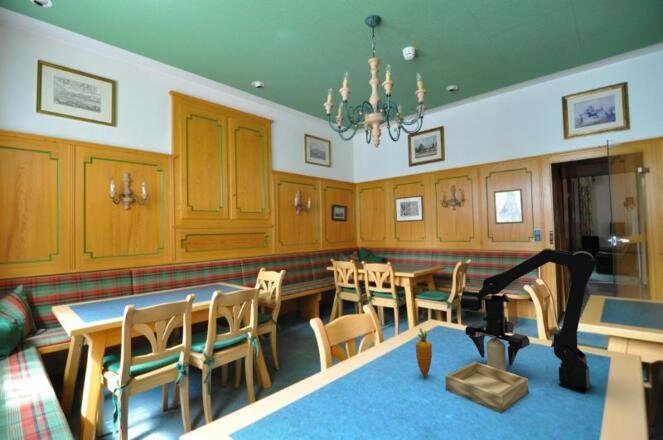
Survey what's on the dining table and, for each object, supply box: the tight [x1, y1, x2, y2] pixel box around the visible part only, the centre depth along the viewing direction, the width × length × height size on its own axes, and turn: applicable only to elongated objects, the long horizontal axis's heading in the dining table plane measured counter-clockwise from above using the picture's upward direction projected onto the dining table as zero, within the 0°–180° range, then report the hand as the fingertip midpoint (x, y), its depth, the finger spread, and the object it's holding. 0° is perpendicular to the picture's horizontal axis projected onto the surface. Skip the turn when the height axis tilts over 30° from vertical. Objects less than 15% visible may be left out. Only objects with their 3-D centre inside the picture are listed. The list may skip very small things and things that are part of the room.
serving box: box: [445, 361, 530, 414], centre depth 95 cm, size 16×16×4 cm
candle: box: [486, 337, 507, 372], centre depth 109 cm, size 6×6×10 cm
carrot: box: [415, 327, 433, 378], centre depth 105 cm, size 5×5×15 cm
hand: (496, 361), depth 109 cm, fingers open, 9 cm apart
